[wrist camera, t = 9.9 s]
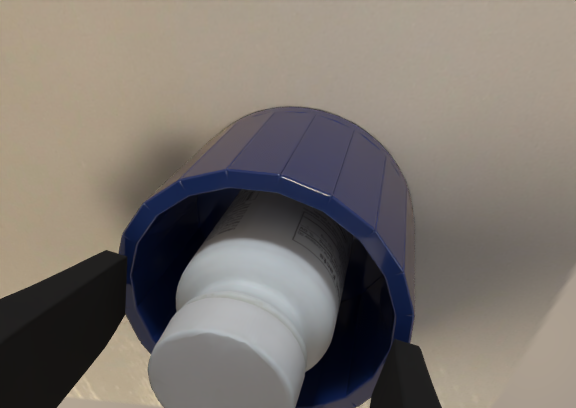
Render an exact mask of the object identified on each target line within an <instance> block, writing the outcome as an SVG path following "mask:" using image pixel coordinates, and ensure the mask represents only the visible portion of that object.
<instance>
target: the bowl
mask: <svg viewBox="0 0 576 408" xmlns="http://www.w3.org/2000/svg"><path fill="white" fill-rule="evenodd" d="M242 189H245V190H254V191H263V192H273V193H278V194H281V195H283V196H286V197H288V198H291V199H293V200H296V201H298V202H300V203H303V204H305V205H308V206H310V207H313V208H315V209H318V210H320V211H322V212H324V213H325V214H326V215H328V216H329V217H330V218H332V219H333V220H334V221H335V222H337V223H338V224H339V225H340V226H342V227H343V228H344V229H346V230H347V231H348V232H349V233H351V234H352V235H353V242H352V247H351V253H350V258H349V262H348V267H347V272H346V277H345V282H344V287H343V292H342V298H341V303H340V307H339V312H338V316H337V321H336V325H335V329H334V333H333V337H332V340H331V343H330V345H329V347H328V349H327V351H326V353H325V354H324V355H323V357H322V358H321V359H320V361H319V362H318V363H317V364H315V365H314V366H313V367H312V368H311V369H309V370H308V371H306V372H305V377H304V381H303V384H302V388H301V391H300V394H299V397H298V401H297V404H296V407H295V408H356V407H358V406H360V405H361V404H363V403H364V402H365V401H367V400H368V399H370V398H371V397H372V393H373V390H374V388H375V385H376V383H377V380H378V378H379V376H380V373H381V371H382V368H383V366H384V363H385V361H386V358H387V356H388V354H389V351H390V349H391V346H392V344H393V341H394V339H397V340H400V341H403V342H407V343H411V337H412V331H413V324H414V318H415V224H414V217H413V207H412V201H411V196H410V192H409V189H408V186H407V183H406V181H405V179H404V177H403V175H402V173H401V171H400V169H399V167H398V165H397V164H396V163H395V161H394V160H393V158H392V157H391V155H390V154H389V153H388V152H387V151H386V150H385V149H384V147H383V146H382V145H381V144H380V143H379V142H378V141H377V140H375V139H374V138H373V137H372V136H371V135H369V134H368V133H367V132H366V131H364V130H363V129H361V128H359V127H358V126H356V125H355V124H353V123H351V122H349V121H347V120H345V119H343V118H341V117H339V116H336V115H333V114H330V113H327V112H324V111H320V110H314V109H309V108H299V107H282V108H272V109H267V110H263V111H258V112H256V113H253V114H250V115H247V116H245V117H243V118H241V119H239V120H237V121H235V122H234V123H232V124H231V125H229V126H228V127H227V128H225V129H224V130H223V131H221V132H220V133H219V134H218V135H216V136H215V137H213V138H212V139H211V140H210V141H209V142H208V143H207V144H205V145H204V146H203V147H202V148H201V149H200V150H199V151H198V152H197V153H196V154H195V155H194V156H193V157H192V158H190V159H189V160H188V161H187V162H186V163H185V164H184V165H183V166H182V167H181V168H180V169H179V170H178V171H177V172H176V173H174V174H173V175H172V176H171V177H170V178H169V179H168V180H167V181H166V182H165V183H164V184H163V185H162V186H161V187H159V188H158V189H157V190H156V191H155V192H154V193H153V194H152V195H151V196H150V197H149V198H148V199H147V200H146V201H145V202H143V203H142V205H141V206H140V208H139V209H138V211H137V212H136V214H135V215H134V217H133V218H132V220H131V221H130V223H129V224H128V226H127V227H126V229H125V230H124V232H123V235H122V238H121V243H120V248H119V254H121V255H124V256H127V281H126V306H125V314H126V316H127V318H128V320H129V322H130V324H131V326H132V328H133V330H134V332H135V333H136V335H137V337H138V339H139V341H141V344H142V345H143V346H144V347H145V348H146V349H147V350H148V352H149V353H150V354H151V353H152V351H153V349H154V347H155V345H156V344H157V342H158V341H159V339H160V337H161V336H162V334H163V332H164V331H165V329H166V327H167V325H168V324H169V322H170V320H171V319H172V317H173V316H174V315H175V314H176V312H177V311H176V292H177V287H178V284H179V281H180V278H181V276H182V274H183V272H184V270H185V269H186V267H187V266H188V264H189V263H190V261H191V259H192V258H193V256H194V255H195V254H196V252H197V251H198V249H199V248H200V247H201V245H202V244H203V243H204V241H205V240H206V238H207V237H208V236H209V234H210V233H211V231H212V230H213V229H214V227H215V226H216V224H217V223H218V222H219V220H220V219H221V217H222V216H223V214H224V213H225V212H226V210H227V209H228V208H229V206H230V205H231V203H232V202H233V200H234V199H235V198H236V196H237V195H238V194H239V192H240V191H241V190H242Z"/></svg>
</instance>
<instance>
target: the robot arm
mask: <svg viewBox="0 0 576 408" xmlns="http://www.w3.org/2000/svg"><path fill="white" fill-rule="evenodd" d="M126 281H127V256H124V255H121V254H117V253H114V252H111V251H108V250H106V251H103V252H101V253H99V254H97V255H95V256H93V257H91V258H89V259H86V260H84V261H82V262H80V263H78V264H76V265H74V266H72V267H70V268H68V269H66V270H64V271H62V272H60V273H58V274H56V275H53V276H51V277H49V278H47V279H45V280H43V281H41V282H39V283H37V284H34V285H32V286H30V287H28V288H25V289H23V290H20V291H18V292H16V293H13V294H11V295H9V296H6V297H4V298H2V299H0V408H57V407H58V405H59V404H60V403H61V402H62V400H63V399H64V398H65V397H66V395H67V394H68V393H69V392H70V391H71V389H72V388H73V387H74V386H75V384H76V383H77V382H78V381H79V379H80V378H81V377H82V376H83V374H84V373H85V372H86V371H87V370H88V368H89V367H90V366H91V365H92V363H93V362H94V361H95V359H96V358H97V357H98V356H99V354H100V353H101V352H102V351H103V349H104V348H105V347H106V345H107V344H108V342H109V340H110V339H111V337H112V336H113V334H114V333H115V331H116V329H117V327H118V326H119V324H120V322H121V321H122V319H123V317H124V316H125V306H126ZM370 408H442V407H441V405H440V402H439V400H438V397H437V394H436V392H435V389H434V386H433V384H432V381H431V378H430V375H429V373H428V370H427V367H426V364H425V361H424V358H423V354H422V351H421V349H420V348H419V346H416V345H413V344H410V343H407V342H403V341H400V340H397V339H394V341H393V344H392V346H391V349H390V351H389V354H388V356H387V358H386V361H385V363H384V366H383V368H382V371H381V373H380V376H379V378H378V380H377V383H376V385H375V388H374V390H373V393H372V397H371V403H370Z"/></svg>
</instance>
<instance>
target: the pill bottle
mask: <svg viewBox="0 0 576 408" xmlns="http://www.w3.org/2000/svg"><path fill="white" fill-rule="evenodd" d="M352 242H353V235H352V234H351V233H349V232H348V231H347V230H346V229H344V228H343V227H342V226H340V225H339V224H338V223H337V222H335V221H334V220H333V219H332V218H330V217H329V216H328V215H326V214H325V213H324V212H322V211H320V210H318V209H315V208H313V207H310V206H308V205H305V204H303V203H300V202H298V201H296V200H293V199H291V198H288V197H286V196H283V195H281V194H278V193H273V192H263V191H254V190H245V189H242V190H241V191H240V192H239V194H238V195H237V196H236V198H235V199H234V200H233V202H232V203H231V205H230V206H229V208H228V209H227V210H226V212H225V213H224V214H223V216H222V217H221V219H220V220H219V222H218V223H217V224H216V226H215V227H214V229H213V230H212V231H211V233H210V234H209V236H208V237H207V238H206V240H205V241H204V243H203V244H202V245H201V247H200V248H199V249H198V251H197V252H196V254H195V255H194V256H193V258H192V259H191V261H190V263H189V264H188V266H187V267H186V269H185V270H184V272H183V274H182V276H181V278H180V281H179V284H178V287H177V292H176V311H177V312H176V314H175V315H174V316H173V317H172V319H171V320H170V322H169V324H168V325H167V327H166V329H165V331H164V332H163V334H162V336H161V337H160V339H159V341H158V342H157V344H156V345H155V347H154V349H153V351H152V353H151V356H150V359H149V364H148V375H149V381H150V384H151V388H152V390H153V391H154V393H155V396H156V397H157V399H158V401H159V402H160V403H161V405H162V406H163V407H164V408H295V407H296V404H297V401H298V397H299V394H300V391H301V388H302V384H303V381H304V377H305V372H306V371H308V370H309V369H311V368H312V367H313V366H314V365H315V364H317V363H318V362H319V361H320V359H321V358H322V357H323V355H324V354H325V353H326V351H327V349H328V347H329V345H330V343H331V340H332V337H333V333H334V329H335V325H336V321H337V316H338V312H339V307H340V303H341V298H342V292H343V287H344V282H345V277H346V272H347V267H348V262H349V258H350V253H351V247H352Z"/></svg>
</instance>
